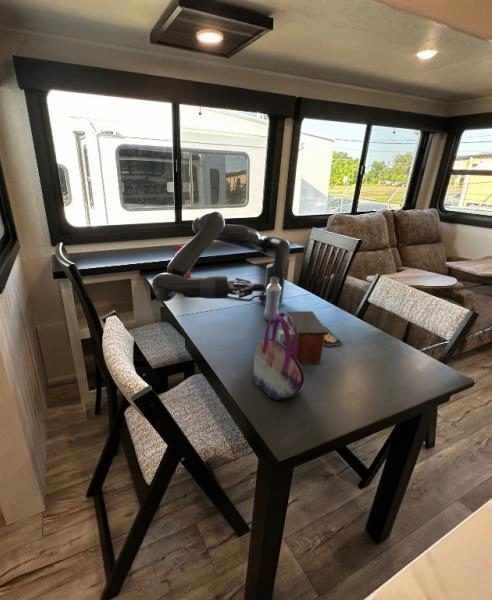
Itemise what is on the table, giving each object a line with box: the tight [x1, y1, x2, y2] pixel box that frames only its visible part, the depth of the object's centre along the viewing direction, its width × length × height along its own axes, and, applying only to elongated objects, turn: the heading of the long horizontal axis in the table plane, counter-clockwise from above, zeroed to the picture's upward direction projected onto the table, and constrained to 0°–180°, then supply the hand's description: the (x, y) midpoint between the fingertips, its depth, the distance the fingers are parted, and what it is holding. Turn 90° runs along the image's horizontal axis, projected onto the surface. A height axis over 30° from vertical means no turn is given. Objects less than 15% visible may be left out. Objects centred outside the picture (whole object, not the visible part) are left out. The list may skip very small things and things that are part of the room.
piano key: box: [277, 329, 293, 342], centre depth 114 cm, size 6×3×3 cm, turn 94°
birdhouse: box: [284, 310, 328, 365], centre depth 115 cm, size 10×17×13 cm, turn 4°
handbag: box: [253, 312, 306, 401], centre depth 94 cm, size 21×10×25 cm, turn 31°
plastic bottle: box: [263, 277, 281, 322], centre depth 137 cm, size 6×7×20 cm
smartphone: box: [323, 325, 343, 347], centre depth 128 cm, size 7×1×15 cm
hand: (264, 287), depth 106 cm, fingers closed
